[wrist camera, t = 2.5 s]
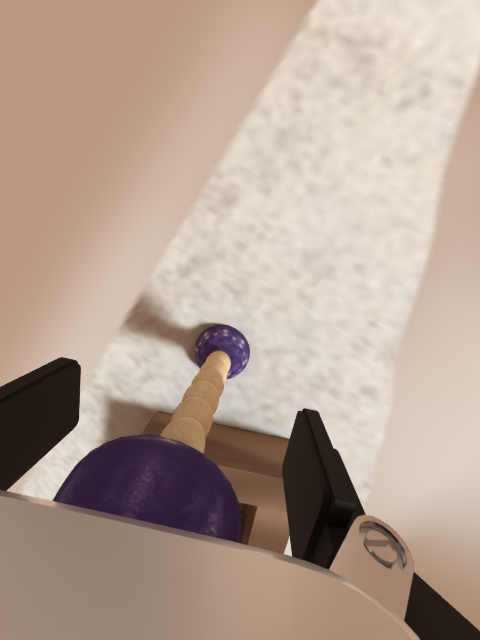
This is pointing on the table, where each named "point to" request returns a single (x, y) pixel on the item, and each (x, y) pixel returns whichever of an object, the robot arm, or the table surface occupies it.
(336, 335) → the table surface
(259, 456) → the socket block
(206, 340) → the toy lamp
